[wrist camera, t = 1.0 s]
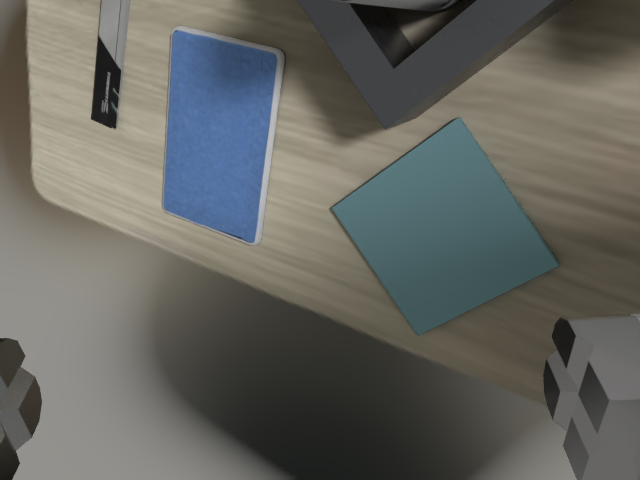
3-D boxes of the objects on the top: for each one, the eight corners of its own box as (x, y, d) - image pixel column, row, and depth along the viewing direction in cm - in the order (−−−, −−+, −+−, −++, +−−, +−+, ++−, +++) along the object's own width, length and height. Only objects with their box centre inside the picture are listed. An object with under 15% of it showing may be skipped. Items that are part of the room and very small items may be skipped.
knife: (99, -25, 58) (129, -14, 57) (106, -24, 59) (137, -13, 58) (87, 119, 65) (115, 132, 63) (94, 118, 65) (121, 130, 64)
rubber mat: (459, 116, 47) (457, 117, 46) (559, 263, 47) (558, 266, 46) (334, 206, 54) (331, 208, 54) (419, 333, 54) (417, 336, 54)
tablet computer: (263, 246, 60) (256, 250, 59) (166, 209, 65) (158, 212, 64) (290, 50, 53) (282, 50, 51) (178, 23, 57) (168, 23, 56)
